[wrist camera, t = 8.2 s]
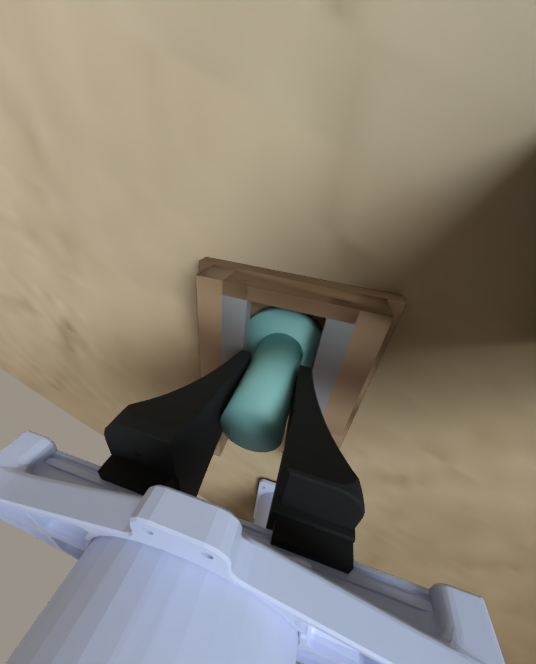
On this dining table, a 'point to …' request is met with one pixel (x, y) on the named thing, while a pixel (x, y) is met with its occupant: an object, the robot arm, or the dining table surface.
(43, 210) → the dining table surface
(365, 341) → the rail
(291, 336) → the teal flanged knob
